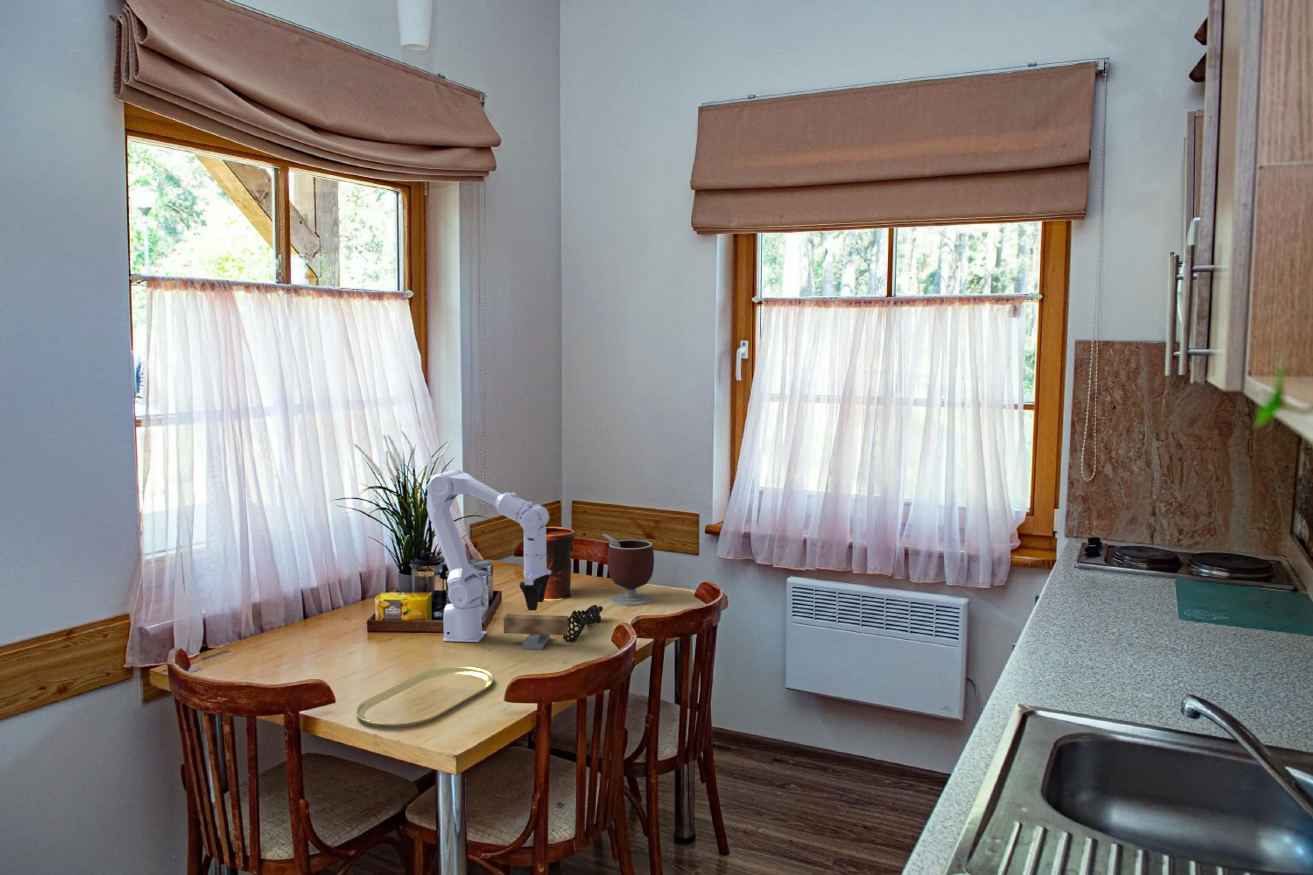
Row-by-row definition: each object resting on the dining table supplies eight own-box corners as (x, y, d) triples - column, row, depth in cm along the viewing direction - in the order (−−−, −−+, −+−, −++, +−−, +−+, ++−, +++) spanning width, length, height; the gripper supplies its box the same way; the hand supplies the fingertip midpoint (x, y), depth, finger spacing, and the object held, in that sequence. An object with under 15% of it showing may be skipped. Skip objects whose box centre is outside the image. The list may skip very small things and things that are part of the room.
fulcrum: (522, 648, 241) (522, 637, 240) (531, 637, 250) (530, 626, 249) (542, 649, 240) (542, 637, 240) (549, 638, 249) (549, 627, 249)
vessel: (523, 590, 297) (524, 526, 295) (568, 587, 301) (569, 525, 299) (531, 602, 283) (532, 536, 281) (578, 599, 287) (579, 534, 285)
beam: (503, 633, 244) (503, 617, 243) (507, 629, 247) (507, 614, 247) (565, 635, 242) (565, 619, 242) (568, 630, 245) (568, 615, 245)
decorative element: (578, 644, 245) (578, 622, 244) (559, 642, 246) (559, 620, 246) (605, 619, 267) (605, 599, 266) (588, 618, 268) (588, 597, 267)
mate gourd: (657, 594, 291) (657, 530, 289) (650, 607, 278) (650, 539, 276) (607, 593, 293) (607, 529, 291) (598, 605, 280) (597, 538, 278)
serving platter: (336, 721, 196) (336, 714, 196) (443, 668, 228) (443, 662, 227) (409, 737, 188) (408, 729, 188) (509, 680, 220) (509, 673, 219)
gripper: (544, 560, 235) (544, 614, 236) (556, 547, 249) (557, 598, 251) (516, 559, 236) (517, 613, 237) (530, 547, 250) (530, 597, 251)
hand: (535, 605), depth 244 cm, fingers open, 7 cm apart
